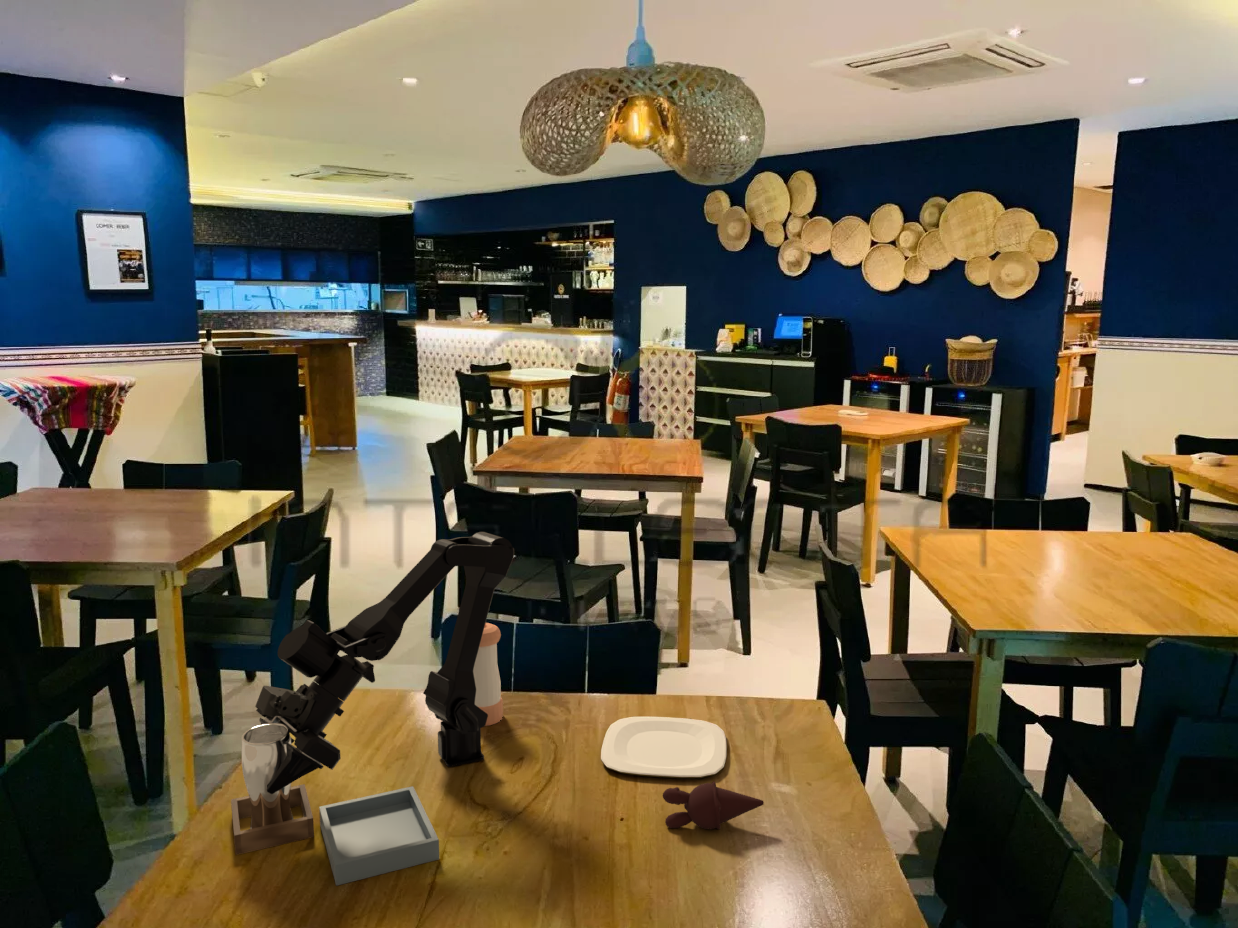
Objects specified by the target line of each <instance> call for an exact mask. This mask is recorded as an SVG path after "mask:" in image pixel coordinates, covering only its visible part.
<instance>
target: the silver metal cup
mask: <svg viewBox="0 0 1238 928" xmlns="http://www.w3.org/2000/svg"><path fill="white" fill-rule="evenodd" d="M290 737H291V733H290V732H289V728H288V727H287V726H286V725H283V724H278V723H269V724H262V725H261V724H259V725H256V726H253V727H251V728H249V729H247V730H246V731H244V732H243V733H242V735H241V767H242V775H243V779H244V784H245V788H246V791H247V794H248V796H249V798H250V802H251V807H252V816H251V819H250V828H249V829H253V828H257V827H262V826H266V825H271V824H275V823H280V822H284V821H289V820H293V819H294V815H293V812H292V808H290V788H291V787H292V783H290V784H289V785H287V786H285V787H284V788H282V789H280V790H279V791H277V792H275V793H274V794H270V793H268V792H267V791H266V790H267V788H268V786H269V784H270V782H271V780H272V779H273V777H274V776H275V774H276V772H277V771H278V769H279V768H280V766H281V764H282V763H283V761H284V760H285V758H286V756H287V747H286V744H287V742H288V743H289V744H291V739H290ZM291 745H292V744H291Z"/></svg>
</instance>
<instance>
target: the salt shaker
mask: <svg viewBox="0 0 1238 928" xmlns="http://www.w3.org/2000/svg"><path fill="white" fill-rule="evenodd" d="M501 633H502V632H501V630H500V628H499V627H498V626H497V625H495V624H492V623H489V622H486V623H485V627H484V630H483V634H482V638H481V642H480V646H479V650H478V653H477V657H476V661H475V665H474V669H473V673H474V679H475V684H476V697H475V705H476V706H477V707H479V708H480V709H481V710H483V711H484V712H485V713H487V714H488V718H487V721H486V725H485V727H486V726H491V725H495V724H497V723H499V722H501V721H502V720H503V718H502V717H504V702H503V701H504V700H503V698H502V696H501V693H502V689H501V687H502V685H501V682H502V681H501V677H500V671H499V666H498V645H497V644H498V643H499V641H500V640H501V636H502V634H501ZM500 720H501V721H500Z"/></svg>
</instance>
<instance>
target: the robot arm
mask: <svg viewBox="0 0 1238 928" xmlns="http://www.w3.org/2000/svg"><path fill="white" fill-rule="evenodd" d="M514 557H515V548H514V547H513V545H512V543H511V542H510V540H508V539H507V538H505V537H503V536H502V537H501V536H499V535H495V534H492V533H488V532H486V531H479V532H475V533H474V534H473V535H471V536H461V537H460V536H459V537H454V538H451V539H446V538H445V539H443V538H442V539H441V538H440V539H438V540H436V541H434V542H433V544H432V545H431V547H430V550H429V551H428V552H427V553H426V554H425V555H424V556H423V557H422V558H421V559H419V561H418V562H417V564H415V565H414V567H412V569H411V570H409V572H408V573H407V574H406V575H405V576H404V577H403V578H402V579H401V580H400V581H399V582H398V584H397V585H396V586H395V587H394V588H393V589H392V590H391V591H390V592H389V593H388V594H387V595H386V596H385V597H384V598H383V599H381V600H380V602H378V603H375V604H373V605H371V606H369V607H367V608H365V609H363V610H362V611H361V612H360V613H358V614H357V615H355V616H354V617H353V618H352V619H351V620H350V621H348V623H347V624H345V625H344V626H341V627H338V628H337V629H335V630H331V631H328V632H324V630H323V629H322V628H321V627H320V626H319V625H318V624H316V623H315V622H313V621H311V620H309V619H307V620H306V621H305V623H304V624H303V625H300V626H298V627H296V628H294V629H293V630H292V631H290V632H289V633H287V634H286V635H284V637H283V638H282V640H281V642H280V643H279V646H278V648H277V657H278V659H280V660H281V661H283V662H284V663H286V664H287V665H289V666H290V667H292V668H293V669H295V671H298V673H300V674H302V675H303V676H305V677H306V678H309V679H310V678H314V679H313V681H311V683H310V684H309V685H307V684H306V683H303V684H301V685H299V687H298V688H297V689H296V690H291V689H288V688H284V687H283V688H282V687H281V688H280V687H275V686H271V685H263V686H262V688H261V690H260V693H259V695H258V698H257V701H256V704H255V708H256V710H255V711H256V712H257V713H258V714H259V715H261V717H259V723H260V725H262V724H269V723H278V724H283V725H286V726H287V727H288V728H289V732H290V735H292V736H293V737H294V738H295V739H294V738H292V737H291V736H290V739H291V744H289V743H288V742H287V744H286V747H287V756H286V758H285V760H284V761H283V763H282V764H281V766H280V768H279V769H278V771H277V772H276V774H275V776H274V777H273V779H272V780H271V782H270V784H269V786H268V788H267V790H266V791H267V792H268V793H270V794H274V793H275V792H277V791H279V790H280V789H282V788H284V787H285V786H287V785H289V784H290V783H291V784H292V783H294V782H296V781H297V780H299V779H300V778H302V777H304V776H306V775H308V774H310V773H311V772H314V771H315V770H318V769H319V770H322V769H323V768H324V767H327V769H330V770H334V769H335V767H336V766H337V764H338V763H339V762H340V760H341V757H342V756H341V750H340V749H339V748H338V747H337V746H336V745H334V744H333V743H332V742H330V741H329V740H327V739H326V736H327V733H326V732H324V730H325V728H327V726H328V724H329V723H330V722H331V721H332V720H333V717H334V716H335V715H337V716H338V717H341V716H342V715H343V714H344V712H345V711H344V710H343V709H342V708H341V707H342V705H343V704H344V703H345V701H346V700H347V699H348V697H349V696H350V695H351V693H352V692H353V691H354V689H355V688H356V687H357V685H358V684H359V682H360V681H361V680H362V678H363V679H365V680H367V681H369V683H371V684H373V683H375V681H376V677H375V673H374V667H375V664H373V663H371V662H375V661H381V660H383V659H385V657H387V656H388V654H389V653H390V652H391V650H392V649H393V647H394V646H395V645H396V643H397V642H398V640H399V639H400V637H401V634H402V631H403V628H404V625H405V623H406V622H407V620H408V619H409V617H410V616H411V615H412V614H413V613H414V611H416V609H417V608H418V607H419V606H420V605H421V604H422V603H423V602H424V601H425V600H426V598H427V597H428V596H429V595H430V594H431V593H432V592H433V591H434V590H435V588H437V586H439V584H440V583H441V582H442V581H443V580H444V579H445V578H446V577H447V575H449V574H450V572H451V571H452V570H453V569H454V568H456V567H463V569H464V575H465V579H466V580H465V581H466V582H465V587H464V591H463V594H462V598H461V602H460V606H459V611H458V614H457V618H456V621H455V625H454V629H453V633H452V636H451V639H450V643H449V647H448V651H447V655H446V658H445V662H444V664H443V665H442V666H441V668H440V669H439V670H438V671H437V672H436V671H432V670H431V671H430V672H429V674H428V676H427V677H428V679H427V685H426V687H425V688H424V691H423V695H424V696H425V697H424V698H425V699H424V701H425V705H426V707H427V709H428V710H429V711H430V712H432V714H434V716H435V718H436V719H437V720H440V730H439V731H437V746H438V747H437V751H438V752H437V753H438V755H439V756H440V758H441V760H442V761H443V762H444V763H445V765H446V767H448V768H451V767H455V766H459V765H460V766H461V765H465V764H470V763H475V762H479V761H484V760H485V755H484V754H483V752H482V735H481V734H482V733H481V729H482V728H484V727H486V726H485V725H486V721H487V718H488V714H487V713H485V712H484V711H483V710H481V709H480V708H479V707H477V706H476V705H475V697H476V684H475V679H474V673H473V669H474V665H475V661H476V657H477V653H478V650H479V646H480V642H481V638H482V634H483V630H484V627H485V623H487V619H488V615H489V611H490V606H491V604H492V600H493V596H494V593H495V589H496V588H497V587H498V585H499V584H500V583H501V582H502V581H503V580H504V579H505V578H506V577H507V575H508V572H509V570H510V567H511V565H512V563H513V560H514ZM340 651H341V652H343V653H344V655H342V656H341V655H339V653H340ZM357 658H363V659H365V660H366V661H362V662H361V661H360V660H359V659H357ZM369 661H370V662H369ZM262 717H263V718H262ZM292 744H294V745H292Z"/></svg>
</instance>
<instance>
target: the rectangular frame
mask: <svg viewBox="0 0 1238 928" xmlns="http://www.w3.org/2000/svg"><path fill="white" fill-rule="evenodd" d="M230 804H231V817H232V818H231V819H232V829H233V830H232V831H233V837H234V838H233V839H234V840H233V841H234V851H235V856H237V855H242V854H246V853H250V852H255V851H259V850H263V849H267V848H273V847H277V846H280V845H284V844H288V843H293V842H298V841H302V840H306V839H310V838H314V837H315V827H314V816H313V813H312V808H311V804H310V799H309V796H308V792H307V788H306V784H299V785H294V786H291V788H290V808H291V809H292V808H296V807H300V808H301V812H302V817H299V818H293V820H289V821H284V822H280V823H275V824H271V825H266V826H262V827H257V828H253V829H250V828H249V829H245V830H241V827H240V819H245V818H246V819H247V818H249V817H252V807H251V802H250V798H249V795H245V796H242V797H236V798H232V799H230Z"/></svg>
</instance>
